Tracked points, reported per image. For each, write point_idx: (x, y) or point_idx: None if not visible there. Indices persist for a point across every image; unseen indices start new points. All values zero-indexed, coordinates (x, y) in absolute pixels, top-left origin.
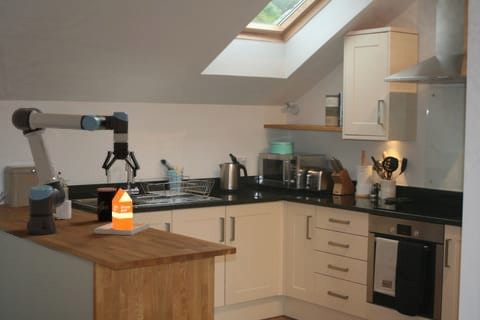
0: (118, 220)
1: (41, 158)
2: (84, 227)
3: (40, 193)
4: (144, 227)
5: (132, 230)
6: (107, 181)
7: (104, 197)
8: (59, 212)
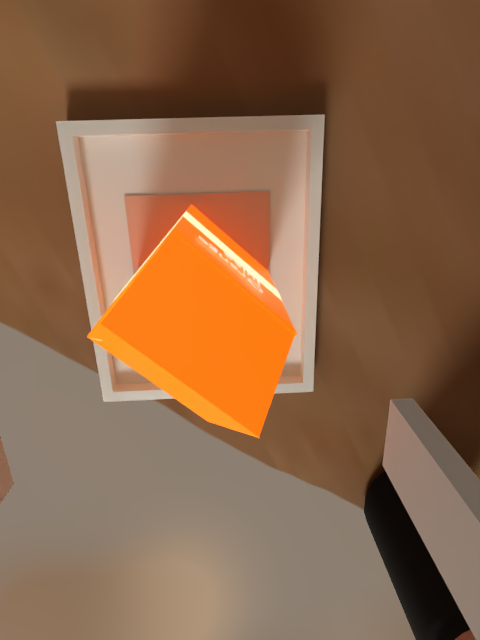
0: (192, 214)
1: None
2: (448, 286)
3: None
4: None
5: (61, 146)
6: (412, 408)
7: None
8: None
